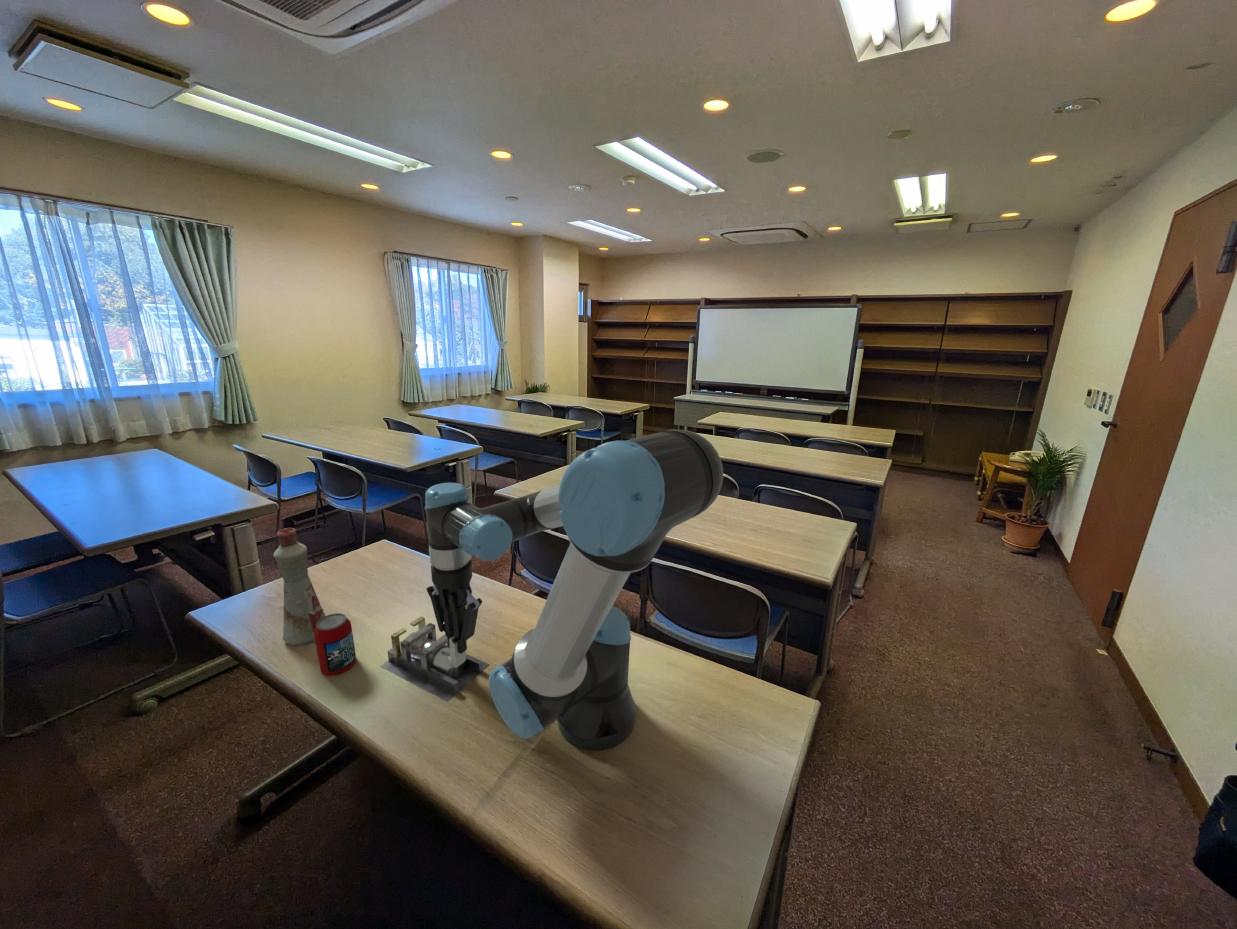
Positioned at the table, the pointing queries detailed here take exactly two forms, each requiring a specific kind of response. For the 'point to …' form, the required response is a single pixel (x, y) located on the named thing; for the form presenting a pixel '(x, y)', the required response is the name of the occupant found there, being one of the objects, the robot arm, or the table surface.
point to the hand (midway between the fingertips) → (458, 662)
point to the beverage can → (334, 644)
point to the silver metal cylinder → (436, 657)
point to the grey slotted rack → (428, 663)
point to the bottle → (297, 590)
